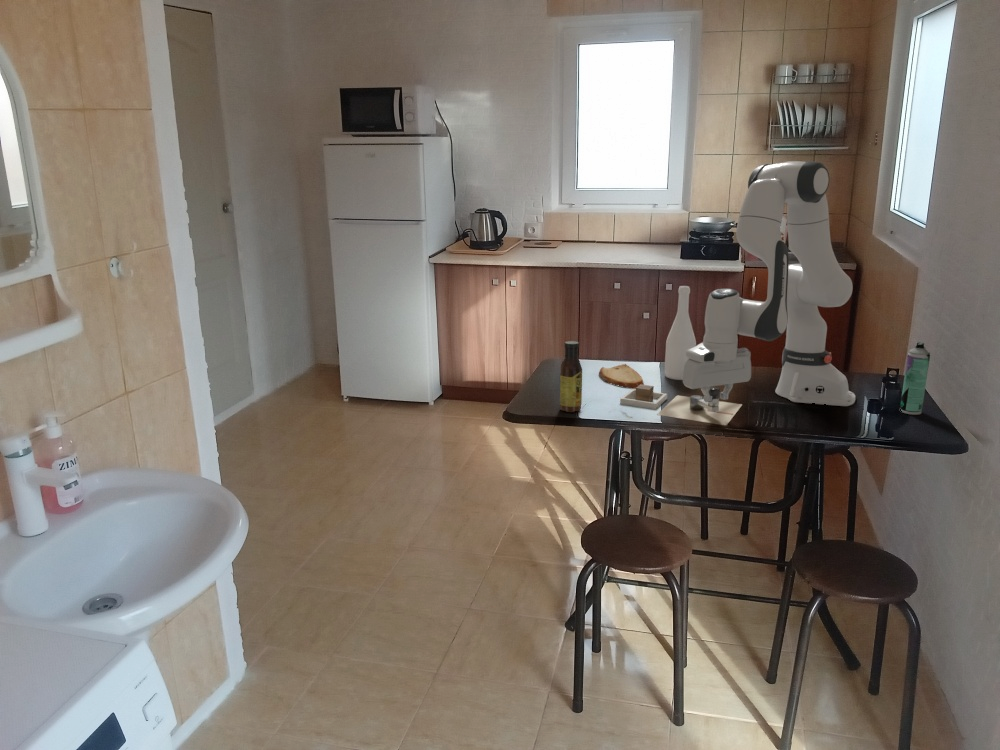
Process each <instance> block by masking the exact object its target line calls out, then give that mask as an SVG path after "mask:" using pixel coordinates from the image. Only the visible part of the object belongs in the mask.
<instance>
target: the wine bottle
mask: <svg viewBox="0 0 1000 750" xmlns="http://www.w3.org/2000/svg"><path fill="white" fill-rule="evenodd" d="M677 291H678V301H677V302H678V303H677V311H676V315H675V318H674V320H673V323H672V325H671V328H670V330H669V332H668V335H667V338H666V342H665V357H664V371H663V372H664V376H665V377H666V378H667V379H671V380H674V381H683V372H684V365H685V363H686V361H687V360H688V359H689V358H687V357H686V352H687V350H689V349H691V348H693V347H695V346H697V341H696V336H695V333H694V329H693V324H692V321H691V319H690V318H691V317H690V313H689V309H690V308H689V306H690V305H689V304H690V294H691V288H690V286H688V285H680V286H679V288H678V289H677Z"/></svg>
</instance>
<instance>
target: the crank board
mask: <svg viewBox="0 0 1000 750" xmlns="http://www.w3.org/2000/svg"><path fill="white" fill-rule="evenodd" d="M742 406H743V404H742V403H734V402H729V401H728V402H727V401H720V400H719V411H715V412H712V411H710V410H708V409H706V408H704V409H702V410H695V409H691V408H690V396H686V395H685V396H684V395H679V394H678V395H675V397H674V398H673V399H672V400H670V401H669V402H668V403H667V404H666V405H665V406H664V407H663V408H662V409H661V410H660V411H659V412H658V413H657V414H656V415H657V416H662V417H669V418H670V417H671V418H677V419H683V420H688V421H694V422H695V421H696V422H700V423H701V422H702V423H706V424H707V423H708V424H714V425H721V426H728V424H729V423H730V421H731V420H732V419H733V417H734V416H735V415H736V413H737V412H738V411H739V410H740V408H741V407H742Z"/></svg>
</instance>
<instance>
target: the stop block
mask: <svg viewBox="0 0 1000 750" xmlns="http://www.w3.org/2000/svg"><path fill="white" fill-rule="evenodd" d="M654 387H655V386H653V385H649V384H644V385H642V384H640V385H639V386H638V387H636V388H635V389H636V396H635V400H640V401H647V402H653V401H654V399H653V392H654Z"/></svg>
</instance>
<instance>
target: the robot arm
mask: <svg viewBox="0 0 1000 750" xmlns="http://www.w3.org/2000/svg"><path fill="white" fill-rule="evenodd" d="M829 186H830V174H829V171H828V169H827V167H826V166H825V164H823V163H821V162H818V161H814V160H807V161H800V160H799V161H798V160H797V161H796V160H790V161H788V160H787V161H784V162H777V163H773V164H772V163H765V164H762V165H759V166H757V167H756V168H754V169H753V170H752V172H751V174H750V175H749V177H748V181H747V191H746V194H745V195H744V199H743V201H742V205H741V209H740V210H739V211H740V212H739V215H738V220H737V225H736V231H735V232H736V233H735V237H736V240H737V242H738V245H740V247H741V248H742V249H743V250H744V251H746V252H747V253H748V254H750V255H752V256H754V257H756V258H758V259H759V260H760V261H762V262H764V264H765V265H766V266H767V270H768V271H767V272H768V275H767V277H768V278H767V291H766V292H767V293H766V295H767V296H766V299H765V301H761V300H751V299H746V298H743V297H740V293H739V291H738V290H736V289H733V288H717V289H715V290H713V291H711V292H710V293H709V295H708V298H707V302H706V307H705V314H704V328H705V331H704V335H703V341H702V342H700V343H699V344H696V346H695V347H693V348H691V349H689V350H687V352H686V357H687V358H689V359H688V360H687V361H686V363H685V365H684V372H683V380H682V384H683V385H684V387H686V388H689V390H690V389H691V390H696V389H700V390H701V392H702V394H703V397H704V401H705V402H712V395H709V390H710V388H712V387H717V386H724V387H723V390H722V391H720V394H719V400H722V401H724V400H729V394H730V393H731V391H732V389H733V387H734V384H738V383H745V382H746V383H747V382H749V381H750V380H751V378H752V361H751V357H752V356H751V351H750V350H749V349H748V348H747V347H741V348H738V344H739V343H738V342H739V338H738V337H739V336H738V335H740V336H745V337H752V338H756V339H758V340H762V341H765V342H766V341H767V342H772V341H775V340H777V339H778V338H780V337H781V336H782V335H783V334H785V336H786V338H785V346H784V348H783V350H782V356H781V364H782V368H781V373H780V377H779V381H778V383H777V386H776V388H775V390H774V391H775V394H777V395H778V396H780V397H783V398H785V399H788V400H790V401H791V402H792V403H804V404H812V403H815V405H824V404H826V406H827V405H828V406H840V407H849V406H852V405H854V404H855V402H856V395H855V393H854V392H852V391H850V390H849V383H848V379H847V377H846V375H845V374H843V373H842V372H841V371H840V369H839V370H838V369H837V368H836V367H835V366H834V365H833V364H832V362H831V361H832V360H833V358H832V352H831V351H830V352H829V351H827V350H826V343H827V341H826V339H827V333H828V325H827V322H826V321H825V319H824V318H823V317H822V315H821V313H820V311H819V308H818V307H821V308H836V307H837V308H838V307H842V306H843V305H845V304H846V303H848V301H849V300H850V298H851V296H852V294H853V287H854V286H853V281H852V279H851V277H850V276H849V275H848V274H847V273H846V272H845V271H844V270H843V269H842V267H841V266H840V263H839V261H838V260H837V258H836V255H835V252H834V250H833V246H832V242H831V241H832V239H831V233H830V232H831V231H830V229H831V228H830V214H829V213H830V212H829V205H828V197H827V194H826V193H827V191H828V190H829ZM786 204H787V206H786V221H787V223H786V225H787V226H786V227H787V236H788V237H787V238H788V239H787V241H788V245H787V243H785V242H784V241H783V240H782V237H781V236H782V235H781V227H782V221H783V216H784V209H785V205H786ZM789 250H790V252H791V253H792V254H793V255H794V256H795V257H796V259H797V260H798V263H791V264H790V262H789V257H790V256H789ZM785 332H786V333H785Z"/></svg>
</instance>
